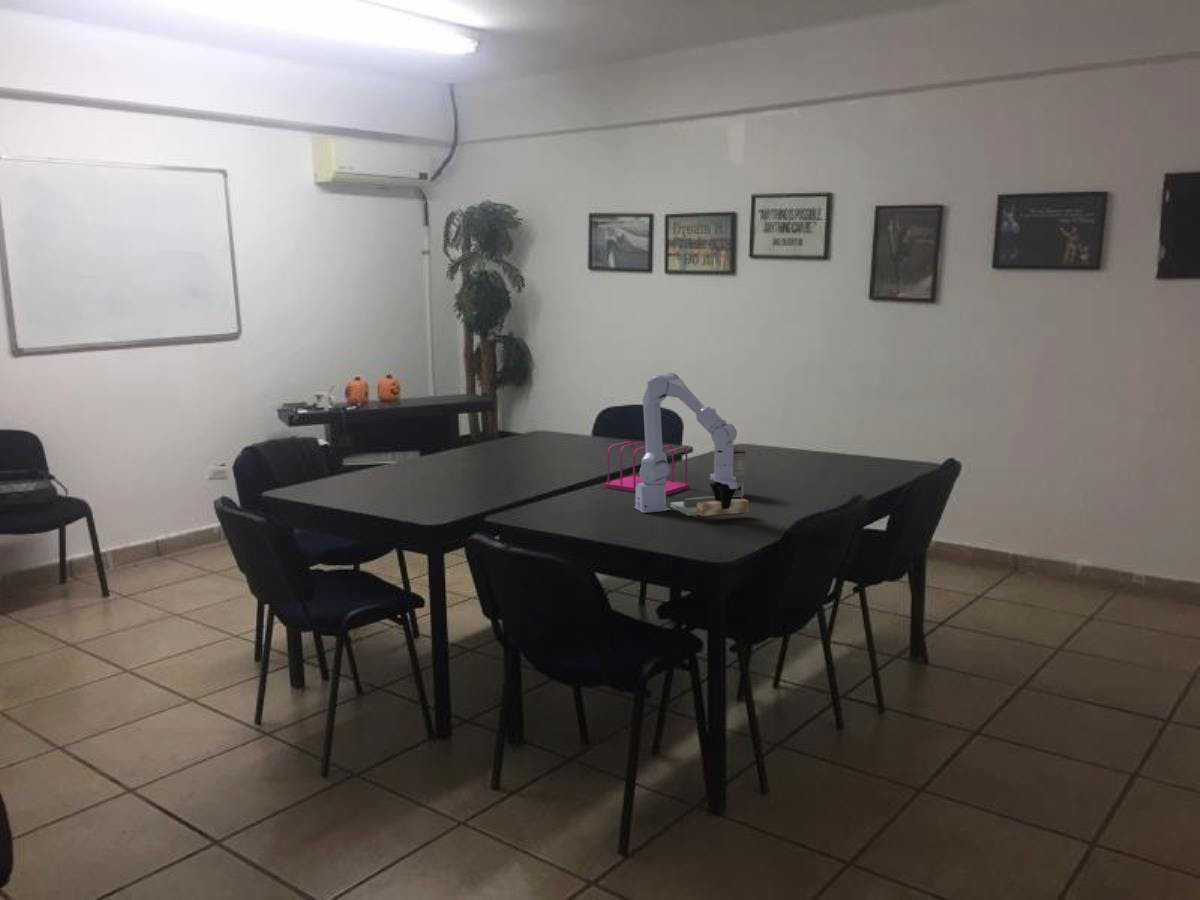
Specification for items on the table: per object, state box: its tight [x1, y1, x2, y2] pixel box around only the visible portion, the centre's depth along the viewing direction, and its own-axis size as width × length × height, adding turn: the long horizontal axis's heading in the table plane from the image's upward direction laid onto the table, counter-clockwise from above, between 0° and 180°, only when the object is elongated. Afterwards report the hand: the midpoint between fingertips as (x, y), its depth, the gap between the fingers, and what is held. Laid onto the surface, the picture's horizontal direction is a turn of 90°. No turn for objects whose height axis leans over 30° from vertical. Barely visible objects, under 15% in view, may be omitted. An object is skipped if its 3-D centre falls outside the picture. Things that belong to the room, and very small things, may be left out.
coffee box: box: [733, 446, 746, 498], centre depth 329 cm, size 9×6×16 cm
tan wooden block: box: [697, 498, 750, 517], centre depth 297 cm, size 16×4×4 cm, turn 109°
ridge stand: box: [669, 495, 715, 516], centre depth 310 cm, size 18×14×4 cm
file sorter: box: [604, 441, 691, 497], centre depth 341 cm, size 17×25×16 cm
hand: (722, 507), depth 297 cm, fingers closed on tan wooden block, 3 cm apart
